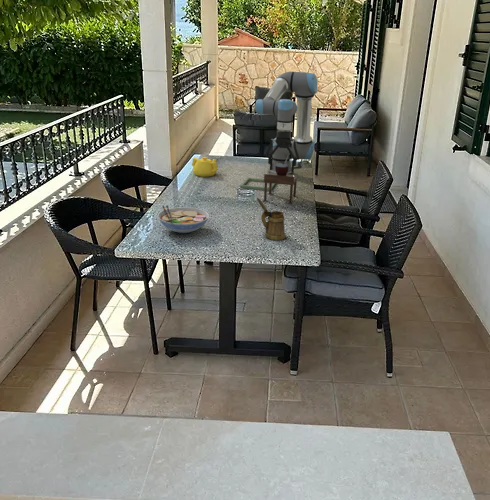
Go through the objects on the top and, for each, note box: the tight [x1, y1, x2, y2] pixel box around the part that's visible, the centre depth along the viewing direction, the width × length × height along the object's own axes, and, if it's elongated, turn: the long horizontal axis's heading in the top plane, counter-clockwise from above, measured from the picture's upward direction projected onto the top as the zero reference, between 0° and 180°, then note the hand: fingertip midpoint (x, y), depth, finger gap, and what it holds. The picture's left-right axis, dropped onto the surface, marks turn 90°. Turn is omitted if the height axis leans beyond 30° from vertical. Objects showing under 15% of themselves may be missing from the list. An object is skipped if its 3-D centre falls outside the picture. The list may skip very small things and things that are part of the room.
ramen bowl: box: [157, 204, 210, 234], centre depth 227 cm, size 25×23×8 cm
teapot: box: [191, 156, 219, 178], centre depth 319 cm, size 20×18×11 cm
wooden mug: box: [256, 197, 286, 241], centre depth 223 cm, size 9×14×18 cm, turn 94°
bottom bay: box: [240, 177, 276, 192], centre depth 302 cm, size 18×18×2 cm
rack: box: [263, 172, 299, 205], centre depth 277 cm, size 16×16×15 cm
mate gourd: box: [275, 153, 290, 176], centre depth 272 cm, size 8×8×15 cm
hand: (281, 170), depth 274 cm, fingers open, 11 cm apart
